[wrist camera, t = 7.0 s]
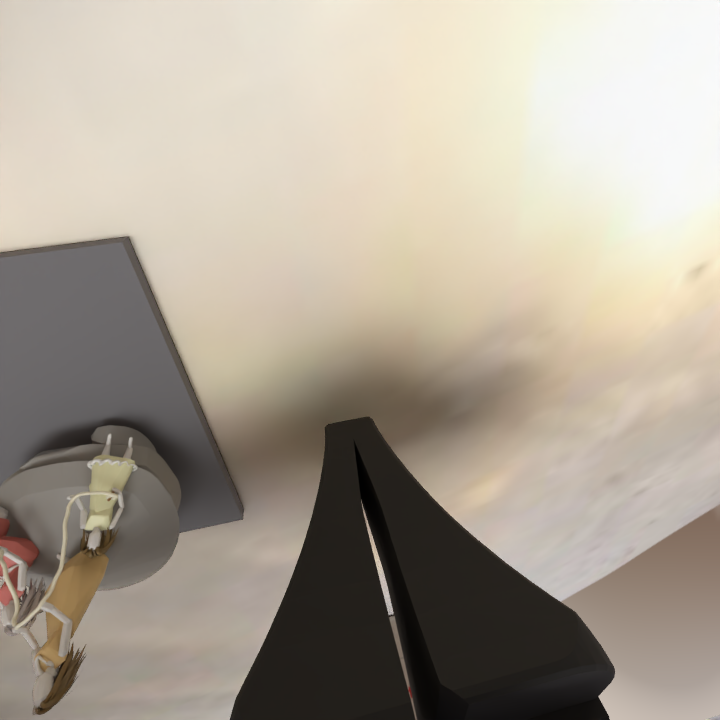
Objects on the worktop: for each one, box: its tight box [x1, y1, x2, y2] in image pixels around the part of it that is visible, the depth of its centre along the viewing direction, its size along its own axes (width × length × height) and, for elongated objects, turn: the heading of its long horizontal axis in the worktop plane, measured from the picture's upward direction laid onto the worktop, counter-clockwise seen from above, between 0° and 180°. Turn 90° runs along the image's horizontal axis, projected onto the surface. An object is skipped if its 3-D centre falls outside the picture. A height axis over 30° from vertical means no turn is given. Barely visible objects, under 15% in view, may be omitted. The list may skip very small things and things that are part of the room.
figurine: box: [0, 425, 181, 715], centre depth 9 cm, size 5×4×6 cm
